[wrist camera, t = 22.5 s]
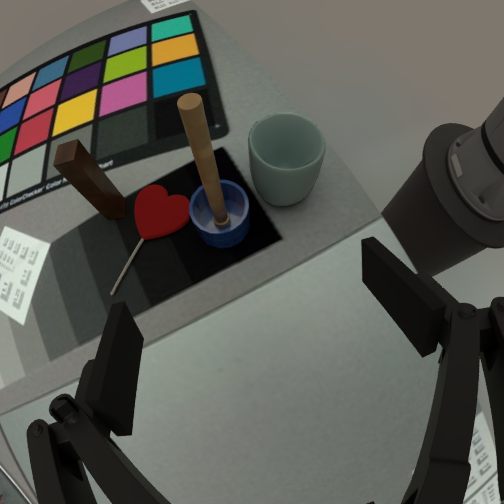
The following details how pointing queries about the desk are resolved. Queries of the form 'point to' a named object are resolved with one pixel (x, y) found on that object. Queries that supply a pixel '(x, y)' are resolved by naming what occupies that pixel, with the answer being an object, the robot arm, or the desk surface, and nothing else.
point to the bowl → (235, 207)
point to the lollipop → (157, 216)
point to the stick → (203, 155)
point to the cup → (285, 157)
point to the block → (89, 179)
